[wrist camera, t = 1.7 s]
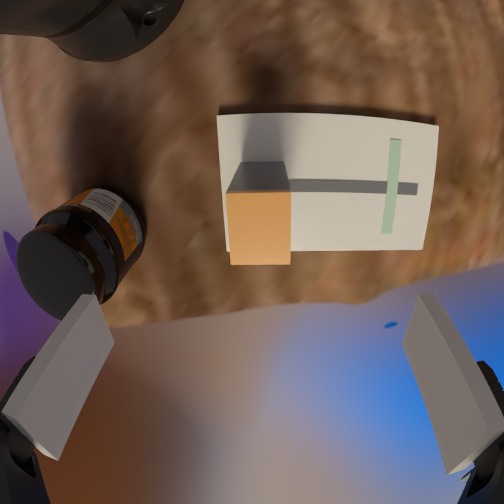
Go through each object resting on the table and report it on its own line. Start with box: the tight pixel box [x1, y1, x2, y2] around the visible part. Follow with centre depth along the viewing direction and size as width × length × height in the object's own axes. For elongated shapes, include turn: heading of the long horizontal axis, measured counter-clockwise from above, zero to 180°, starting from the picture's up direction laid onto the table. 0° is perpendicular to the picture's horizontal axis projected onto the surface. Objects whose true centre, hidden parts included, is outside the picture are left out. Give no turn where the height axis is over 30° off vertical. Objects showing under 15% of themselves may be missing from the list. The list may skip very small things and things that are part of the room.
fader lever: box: [225, 161, 291, 265], centre depth 24 cm, size 5×4×10 cm
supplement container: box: [16, 186, 146, 321], centre depth 27 cm, size 10×10×12 cm
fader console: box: [217, 113, 439, 252], centre depth 29 cm, size 14×22×1 cm, turn 92°
